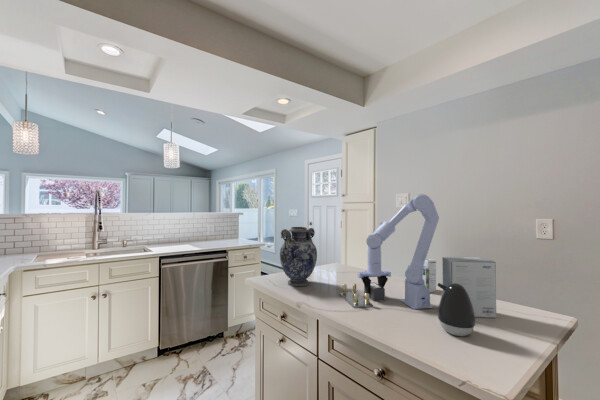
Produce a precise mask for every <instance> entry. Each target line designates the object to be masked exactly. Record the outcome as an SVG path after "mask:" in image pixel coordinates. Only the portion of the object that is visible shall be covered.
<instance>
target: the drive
mask: <svg viewBox="0 0 600 400" xmlns="http://www.w3.org/2000/svg"><path fill="white" fill-rule="evenodd" d="M363 287H364V288H363V294H364V295H365V293H366V289H365V286H364V285H363ZM385 289H386V288H385V287H384V288H383V287H381V286H380V285H378V283H377V282H371V284H370V295H369V300H371V301H373V302H382V301H385V300H386V299H385V297H386V295H385V293H386V290H385Z"/></svg>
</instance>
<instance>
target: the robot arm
mask: <svg viewBox="0 0 600 400" xmlns="http://www.w3.org/2000/svg"><path fill="white" fill-rule="evenodd" d="M417 211H418V212H419V213H421V215H422V217H423V218H424V220H425V221H424V224H423V226H422V229H421V233H420V235H419V238H418V241H417V244H416V248H415V251H414V253H413V254H414V255H413V257H412V258H411V259H412V260H411V262H410V263H409V264H408V265H407V268H406V270H405V273H404V277H405V279H404V298H401V299H400V302H402V303H404V304H405V305H407V306H408V307H410V308H412V309H414V310H420V309H431V308H433V306H432V305H431V292H430V290H429V288H428V287H426V286H425V283H424V280H423V279H422V277H423V273H424V270H423V265H424V262H425V259H426V258H427V256H428V253H429V250H430V247H431V244H432V241H433V237H434V235H435V232H436V229H437V225H438V223H439V219H440V217H439V214H438V212H437V208H436V205H435V203H434V201H433V200H432V199H431V197H430V196H428V195H427V194H424V193H420V194H416V195H415V196H414V197H413V198H412V199H410V200H409V201H407V202H406V203H405V204H404V205H403V206H402V207H401V208H400V209H399V210H398V212H397V213H396V214H394V215H393V217H391V219H390V220H385V221H381V222H380V223H379V226H378V227H376V229H374V230H373V231H371V233H372V234H369V235H368V236H367V238H366V241H365V242H366V245H367V270H366V271H360V272H359V271H358V272H357V278H359V279H361V281H362V282H363V287H364V286H365V289H366V293H369V295H370V284H371V283H372V279H370V278H377V284H378V285H380V286H381V287H383V288H384V289H385V285H386V284H387V282H388V279H389V278H388V277H390V278H391V277H392V273H391V271H389V270H382V245H383V242H385V241H386V240H387V239H388V238H389V237H390V236H391V235H392V234H394V233H395V231H396V226H397V225H398V224H399V223H401V221H403V220H404V219H405V218H406V217H407V216H408V215H409V214H410V213H414V212H417Z"/></svg>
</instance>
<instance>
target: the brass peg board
mask: <svg viewBox="0 0 600 400" xmlns="http://www.w3.org/2000/svg"><path fill="white" fill-rule="evenodd" d="M339 296H341V297H342V298H343V299H344V300H345V301H346V302H347V303H348V304H349V305H350V306H351V307H352V308H353V309H359V308H370V307H371V308H372V307H374V305H373V304H372V303H371V302H370V298H369V293H365V294H364V296H362V295H361V294H360V293H359V292H357V283H352V291H350V292H349V291H348V292H347V284H345V283H342V292H339Z"/></svg>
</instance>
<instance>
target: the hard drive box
mask: <svg viewBox="0 0 600 400" xmlns="http://www.w3.org/2000/svg"><path fill="white" fill-rule="evenodd" d="M441 265H442V285H444V286H447V287H448V286H449V285H450V284H453V283H457V284H460V285H462V286H463V287H464V288H465V290H466V291H467V293H468V295H469V297H470V300H471V302H472V305H473V309H474V314H475V318H486V319H487V318H491V319H492V318H497V277H496V276H497V274H496V270H497V268H496V266H497V265H496V261H494V260H492V259H488V258H485V257H461V256H460V257H458V256H457V257H451V256H449V257H447V256H445V257H442V264H441ZM444 291H445V290H443V289H442V294H443V293H444Z"/></svg>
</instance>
